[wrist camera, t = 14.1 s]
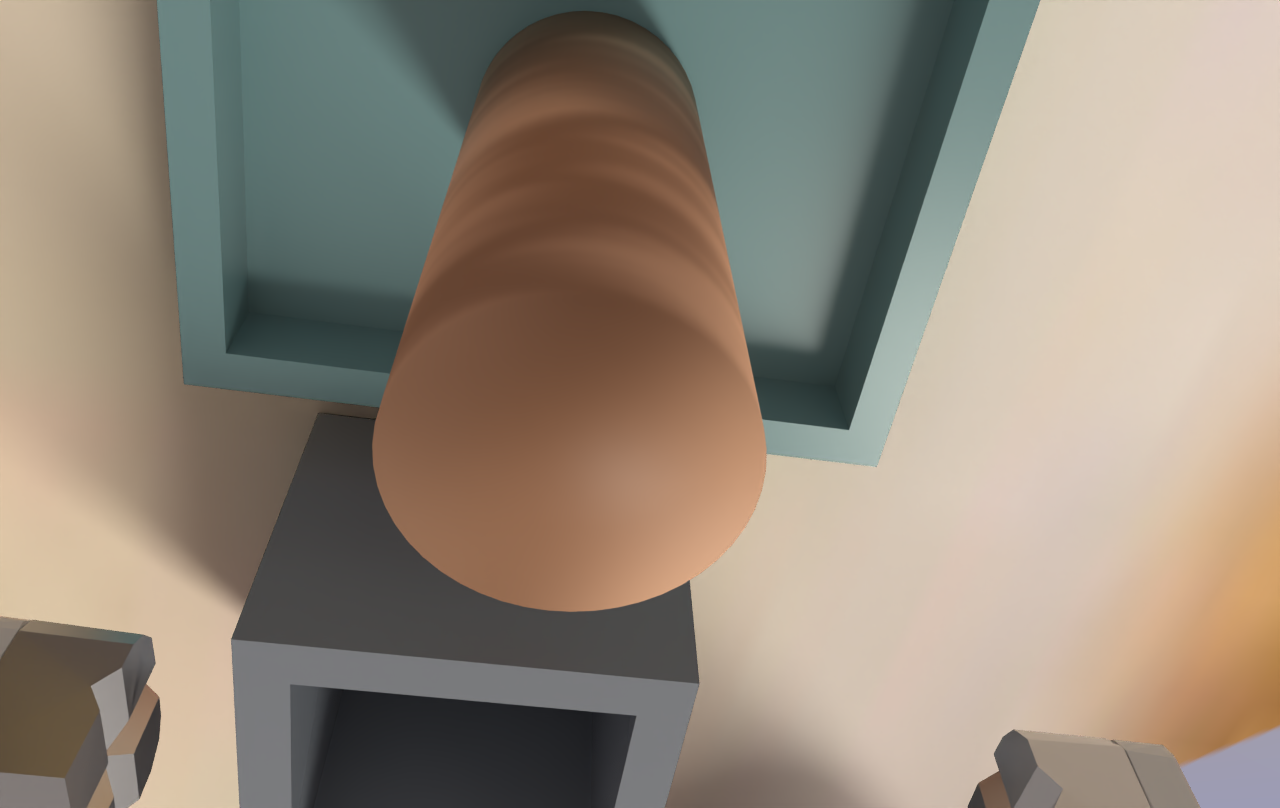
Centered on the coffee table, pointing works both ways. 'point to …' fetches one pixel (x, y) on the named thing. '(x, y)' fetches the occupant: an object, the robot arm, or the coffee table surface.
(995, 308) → the coffee table surface
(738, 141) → the tray
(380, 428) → the peg
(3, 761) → the robot arm
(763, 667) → the coffee table surface
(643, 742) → the grey open square box
